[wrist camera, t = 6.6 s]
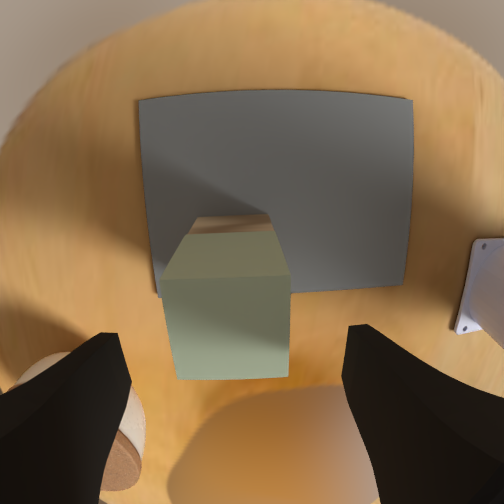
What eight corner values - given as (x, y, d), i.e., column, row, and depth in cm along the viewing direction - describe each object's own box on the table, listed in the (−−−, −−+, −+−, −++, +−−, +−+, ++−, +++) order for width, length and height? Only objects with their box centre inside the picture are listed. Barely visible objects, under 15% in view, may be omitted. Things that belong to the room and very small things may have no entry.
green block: (275, 230, 14) (290, 274, 10) (275, 310, 16) (288, 376, 11) (185, 234, 14) (158, 279, 10) (194, 313, 16) (177, 379, 11)
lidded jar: (102, 306, 20) (39, 396, 12) (185, 409, 24) (169, 506, 15) (23, 349, 22) (-32, 418, 13) (97, 432, 25) (68, 506, 16)
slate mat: (409, 100, 16) (412, 100, 16) (400, 282, 20) (402, 284, 20) (140, 101, 16) (138, 100, 16) (159, 295, 20) (158, 298, 20)
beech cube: (268, 214, 18) (275, 233, 14) (269, 279, 20) (275, 312, 16) (197, 217, 18) (185, 237, 14) (203, 282, 19) (194, 315, 16)
